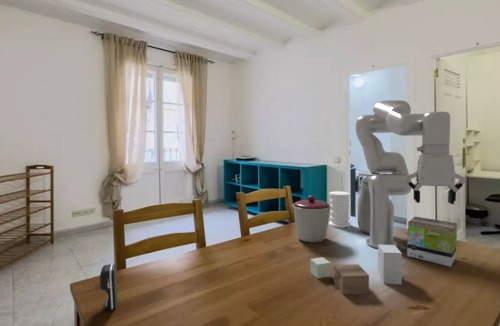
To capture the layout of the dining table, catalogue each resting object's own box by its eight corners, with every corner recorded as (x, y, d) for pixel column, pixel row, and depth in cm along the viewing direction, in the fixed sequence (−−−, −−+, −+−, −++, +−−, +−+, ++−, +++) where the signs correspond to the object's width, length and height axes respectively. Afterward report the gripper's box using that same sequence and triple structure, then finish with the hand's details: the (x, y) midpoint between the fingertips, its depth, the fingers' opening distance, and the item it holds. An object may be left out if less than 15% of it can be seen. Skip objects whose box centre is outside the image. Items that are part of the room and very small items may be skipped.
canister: (324, 248, 127) (324, 200, 126) (286, 241, 137) (285, 197, 136) (335, 236, 143) (336, 194, 141) (300, 231, 152) (300, 191, 151)
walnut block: (334, 282, 97) (334, 265, 96) (358, 281, 97) (358, 264, 97) (342, 295, 89) (342, 276, 88) (368, 294, 89) (368, 275, 89)
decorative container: (347, 229, 155) (348, 195, 153) (326, 226, 160) (326, 193, 159) (352, 223, 164) (352, 192, 163) (331, 221, 170) (331, 190, 169)
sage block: (310, 272, 104) (310, 259, 104) (322, 270, 106) (322, 257, 106) (317, 278, 100) (317, 264, 99) (330, 276, 101) (330, 262, 101)
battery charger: (103, 300, 88) (101, 263, 87) (117, 297, 89) (115, 261, 88) (100, 312, 81) (98, 272, 81) (115, 310, 83) (113, 270, 82)
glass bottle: (353, 230, 152) (353, 177, 150) (369, 228, 155) (369, 175, 153) (367, 236, 142) (367, 179, 141) (383, 233, 146) (384, 178, 144)
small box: (401, 285, 94) (402, 253, 93) (383, 284, 95) (383, 252, 94) (394, 274, 102) (395, 244, 101) (377, 273, 103) (378, 243, 102)
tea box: (406, 257, 117) (407, 220, 116) (413, 250, 124) (414, 215, 123) (451, 267, 106) (453, 227, 105) (456, 259, 114) (457, 221, 113)
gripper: (408, 151, 94) (407, 203, 95) (471, 150, 89) (469, 206, 90) (403, 150, 101) (402, 199, 102) (461, 150, 96) (460, 201, 97)
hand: (433, 202), depth 96 cm, fingers open, 9 cm apart
